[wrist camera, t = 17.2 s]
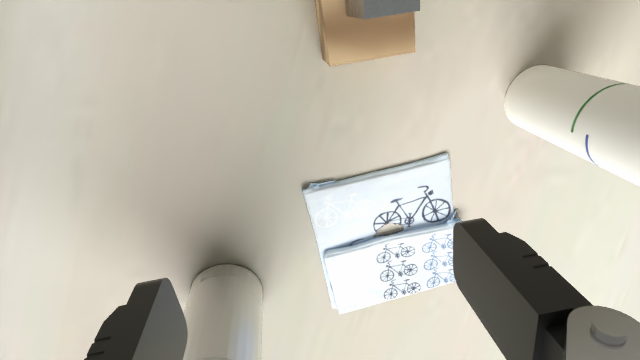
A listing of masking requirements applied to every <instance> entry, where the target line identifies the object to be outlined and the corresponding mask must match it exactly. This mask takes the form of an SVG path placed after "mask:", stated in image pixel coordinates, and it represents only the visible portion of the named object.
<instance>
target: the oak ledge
mask: <svg viewBox="0 0 640 360" xmlns="http://www.w3.org/2000/svg"><path fill="white" fill-rule="evenodd" d="M315 4H316V11H317V19H318V26H319V34H320V41H321V49H322V56H323V60H324V61H325V62H326V63H327V64H328V65H329V66H335V65H341V64H347V63H353V62H359V61H365V60H371V59H377V58H383V57H389V56H395V55H401V54H407V53H413V52H415V24H414V12H408V13H402V14H396V15H390V16H384V17H378V18H372V19H365V20H364V19H359V18H354V17H348V16H347V15H346V5H345V0H315Z"/></svg>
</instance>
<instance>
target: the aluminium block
mask: <svg viewBox="0 0 640 360" xmlns="http://www.w3.org/2000/svg"><path fill="white" fill-rule="evenodd" d="M345 5H346V15H347V16H348V17H354V18H359V19H364V20H365V19H372V18H378V17H384V16H390V15H396V14H402V13H408V12H414V11H420V0H345Z"/></svg>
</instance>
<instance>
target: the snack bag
mask: <svg viewBox="0 0 640 360" xmlns="http://www.w3.org/2000/svg"><path fill="white" fill-rule="evenodd" d="M450 169H451V167H450V159H449V157H448V153H443V154H440V155H437V156H433V157H430V158H427V159H423V160H420V161H416V162H413V163H409V164H405V165H401V166H397V167H393V168H389V169H385V170H380V171H375V172H371V173H367V174H364V175H360V176H356V177H351V178H347V179H344V180H340V181H335V180H334V181H328V182H323V183H319V184H318V183H311V182H310V185H309V187H307V188H306V189H302V191H303V196H304V198H305V201H306V205H307V208H308V211H309V215H310V219H311V222H312V226H313V229H314V233H315V237H316V241H317V245H318V249H319V253H320V258H321V262H322V266H323V271H324V275H325V279H326V283H327V288H328V294H329V298H330V303H331V305H332V308H333V309H336V308H338V312H339V314H343V313H346V312H350V311H353V310H357V309H361V308H364V307H368V306H371V305H375V304H378V303H381V302H385V301H388V300H392V299H396V298H400V297H403V296H407V295H411V294H414V293H418V292H422V291H425V290H429V289H432V288H436V287H438V286H442V285H446V284H449V283H452V282H456V280H455V277H454V272H453V227H454V225H455V223H459V222H463V221H461V219H460V218H455V219H454V216H455V215H456V212H457V210H458V209H456V211H454V210H453V200H452V187H451V174H450ZM330 182H331V183H330ZM388 223H394V224H399V225H403V230H402V231H399V232H398V233H395V234H392V235H388V236H378V237H373V236H374V235H375V234H376V232H377V231H379V230H380V228H381V227H383V225H386V224H388Z"/></svg>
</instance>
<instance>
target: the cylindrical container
mask: <svg viewBox="0 0 640 360" xmlns="http://www.w3.org/2000/svg"><path fill="white" fill-rule="evenodd" d="M504 108H505V112H506V115H507V117H508V118H509V120H510V121H511V122H512V123H514V124H515V125H517V126H519V127H521V128H523V129H525V130H527V131H529V132H531V133H533V134H535V135H537V136H539V137H541V138H543V139H545V140H547V141H549V142H551V143H553V144H555V145H557V146H559V147H561V148H563V149H565V150H567V151H569V152H572V153H574V154H576V155H578V156H580V157H582V158H584V159H586V160H588V161H590V162H592V163H594V164H596V165H598V166H600V167H602V168H604V169H606V170H608V171H610V172H612V173H614V174H616V175H618V176H620V177H622V178H624V179H626V180H628V181H630V182H632V183H634V184H636V185H638V186H640V86H636V85H631V84H627V83H623V82H618V81H614V80H610V79H605V78H601V77H596V76H592V75H588V74H583V73H579V72H574V71H570V70H566V69H561V68H557V67H553V66H548V65H536V66H533V67H530V68H528V69H526V70H524V71H523V72H521V73H520V74H519V75H518V76H517V77H516V78H515V79H514V80H513V82H512V83H511V84H510V86H509V88H508V90H507V93H506V96H505V101H504Z"/></svg>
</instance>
